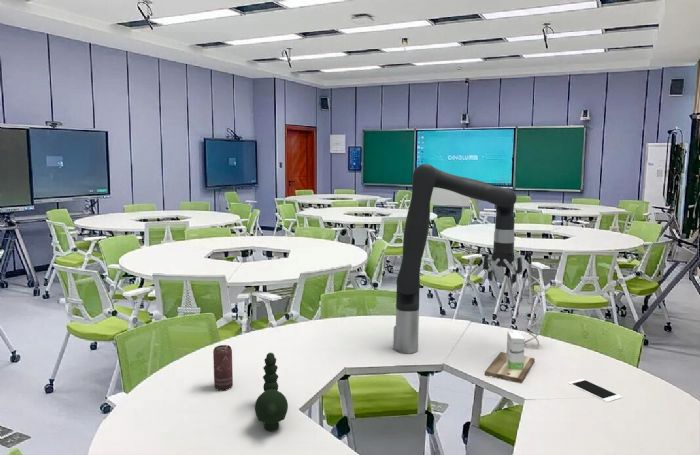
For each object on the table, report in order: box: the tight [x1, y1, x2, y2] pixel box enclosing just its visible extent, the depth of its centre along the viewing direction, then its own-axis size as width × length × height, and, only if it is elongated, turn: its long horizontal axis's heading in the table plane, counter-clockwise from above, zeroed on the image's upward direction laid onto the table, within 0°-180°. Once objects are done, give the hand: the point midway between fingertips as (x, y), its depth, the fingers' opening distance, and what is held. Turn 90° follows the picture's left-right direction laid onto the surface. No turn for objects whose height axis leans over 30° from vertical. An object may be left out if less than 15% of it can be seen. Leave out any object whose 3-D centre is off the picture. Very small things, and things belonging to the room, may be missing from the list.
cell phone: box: [567, 378, 624, 403], centre depth 180 cm, size 8×16×1 cm, turn 27°
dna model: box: [524, 274, 544, 349], centre depth 218 cm, size 7×6×30 cm
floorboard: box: [484, 351, 536, 384], centre depth 198 cm, size 13×22×2 cm, turn 150°
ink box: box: [505, 330, 526, 369], centre depth 196 cm, size 9×5×12 cm, turn 174°
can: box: [212, 344, 234, 391], centre depth 179 cm, size 6×6×14 cm
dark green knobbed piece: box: [254, 352, 289, 432], centre depth 158 cm, size 9×19×25 cm
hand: (501, 282), depth 205 cm, fingers open, 8 cm apart
